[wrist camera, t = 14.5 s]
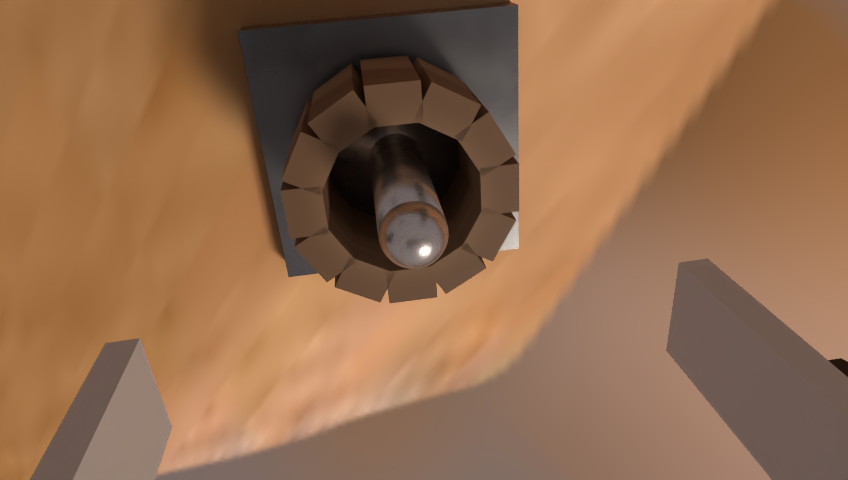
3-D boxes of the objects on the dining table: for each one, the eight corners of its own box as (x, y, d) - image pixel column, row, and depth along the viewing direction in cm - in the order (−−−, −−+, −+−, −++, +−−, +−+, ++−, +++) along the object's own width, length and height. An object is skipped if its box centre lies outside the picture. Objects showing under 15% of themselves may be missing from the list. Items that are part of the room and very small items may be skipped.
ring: (311, 256, 29) (305, 314, 24) (276, 68, 25) (261, 96, 20) (492, 234, 30) (519, 286, 25) (488, 47, 25) (518, 69, 21)
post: (290, 265, 31) (266, 416, 22) (241, 27, 26) (179, 81, 16) (512, 238, 32) (587, 370, 22) (511, 2, 27) (609, 38, 17)
